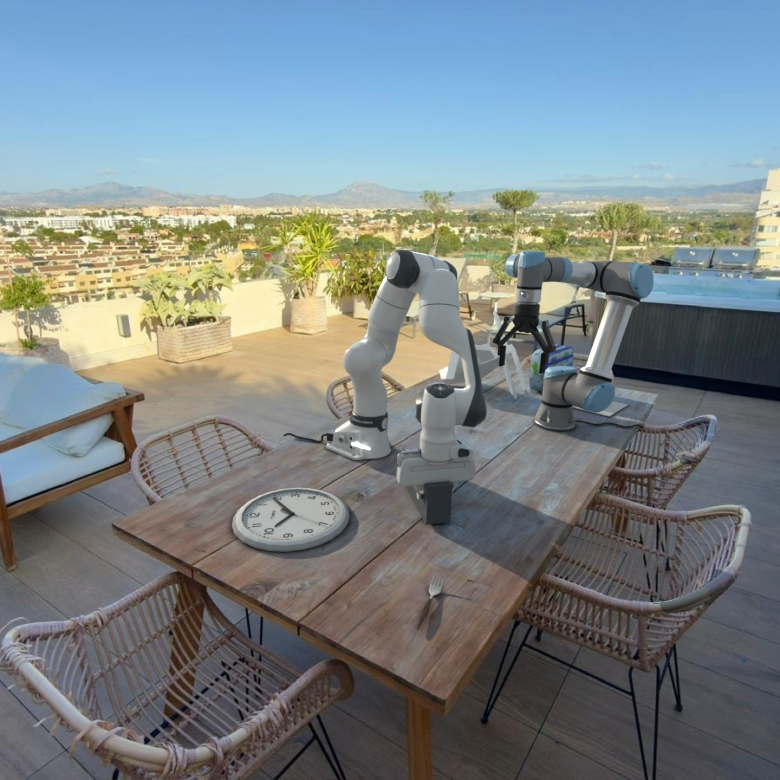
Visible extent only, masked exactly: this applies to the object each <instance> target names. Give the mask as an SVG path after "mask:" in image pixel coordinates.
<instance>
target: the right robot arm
mask: <svg viewBox="0 0 780 780" xmlns="http://www.w3.org/2000/svg"><path fill="white" fill-rule="evenodd" d="M505 273H506V274H507V276H509V277H511V278H515V279H517V280H516V289H515V299H514V300H515V301H516V302H515V303H514V311H513V316H511V315H506V316H504V317H503V322H502V323H501V324H502V326H501V327H500V329H499V331H498V330H497V333H496V334H495V336H494V338H493V340H492V343H493V344H494V345H497V350H498V353H497V354H498V356H500V359H499V367H502V366H504V365H505V354H506V346H505V345H504V344H505V343H506V342H507V343H508V341H509V340H510V339H511V338H512V337H514V335H515V334H516V333H517V332H518V333H525V334H531V336H532V337H533V338H534V339H535V341H536V343H537V344H538V346H539V347H540V349H542V350H543V353H541V360H540V369H539V374H542V373H544V372H545V375H544V378H543V379H544V380H543V391H542V392H541V402H540V405H539V407H538V410H537V411H536V413H535V417H534V424H535V425H536V426H537V427H539V428H542V429H544V430H549V431H556V432H567V431H572V430H574V429H575V428H576V423H580V424H586V425H590V426H595V427H596V426H597V427H598V426H603V425H611V426H616V427H619V428H622V429H623V428H624V429H631V428H635V427H639V428H641V429H644V426H643V425H641V424H639V423H635V424H632V425H623V424H618V423H614V422H610V421H606V422H599V423H594V422H589V421H584V420H578V419H576V418H575V417H576V416H575V413H574V407H576V406H577V407H579V408H582V409H584V410H587V411H586V412H588V411H592V412H601V411H603V410H604V409H606V408H607V407H608V406H609V405H610V404H611V402H612V401H614V398H615V395H616V387H615V385H614V384H613V383H612V382H613V379H614V378H613V376H612V374H611V371H612V369H613V366H614V363H615V360H616V357H617V354H618V352H619V348H620V345H621V343H622V339H623V337H624V334H625V331H626V328H627V326H628V323H629V320H630V317H631V314H632V312H633V309H634V308H635V307H637V306H639V305H640V303H641V300H642V299H643V300H644V299H645V298H648V297H649V295H650V294H651V293H652V291H653V287H654V281H655V278H654V274H653V271H652V268H651V267H650V266H649V265H648V264H646V263H642V262H637V261H618V260H617V261H616V260H594V261H593V260H592V261H590V260H582V261H580V262H577V261H572V260H571V259H570V258H567V257H566V256H565V257H564V256H546V253H545V251H543V250H522V251H521V252H520V253H518V254H512V255H510V256H509V257H508V258H507V260H506V261H505ZM543 283H562V284H572V285H575V286H576V287H579V288H580V289H581V288H582V289H588V290H592V291H594V292H599V293H603V294H605V295H604V297H605V300H606V301H607V302H606V306H605V308H604V311H603V315H602V317H601V320H600V324H599V325H598V329H597V333H596V334H595V337H594V340H593V343H592V347H591V349H590V353H589V355H588V358H587V361H586V364H585V366H583V367H581V368H580V369H579V371H578V369H577V367H574V366H572V367H570V366H555V367H549V368H547V369H546V370H545V364H546V363H548V362H549V354H550V352H554V351H556V346H555V345H556V343H555V341H554V338H553V335H552V332H551V329H550V320H549V319H545V320H540V311H541V310H540V309H541V304H540V303H541V302H542V301H541V300H542V290H543V289H542V288H543ZM511 323H512V324H513V325H514V326H513V327H512V328H511V329H510V330H509V331H508V332H507V333H506V334H505V332H506V331H507V329H508V327H509V326H510V324H511ZM538 326H540V328H541V330H542V333H543V336H544V338H543V336H542V334H541V332H540V330H539V328H538ZM503 334H505V337H504V338H503V339H502V340H501V337H502V336H503ZM503 345H504V346H503ZM573 406H574V407H573ZM584 410H583V411H584ZM592 412H591V413H592Z"/></svg>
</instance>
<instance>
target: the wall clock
mask: <svg viewBox="0 0 780 780" xmlns="http://www.w3.org/2000/svg"><path fill="white" fill-rule="evenodd" d="M350 514H351V513H350V510H349V507H348V505H346V503H345V502H344V501H343V500H342V499H340V498H339V497H337V496H335V494H332V493H329V492H327V491H324V490H322V489H321V490H320V489H316V488H310V487H290V488H289V487H288V488H282V489H281V488H280V489H277V490H276V489H275V490H271V491H268V492H265V493H262V494H260V495H257V496H256V497H254V498H252V499H250V500H248V501H247V502H246V503H244V504H243V505H242V506H241V507H240V508H239V509H237V511H236V513H234V516H233V518H232V524H231V528H232V530H233V533H234V535H235V536H236V538H238V540H240V541H241V542H242V543H243V544H245V545H248V546H250V547H252V548H254V549H259V550H263V551H267V552H281V553H282V552H285V553H286V552H287V553H288V552H295V551H303V550H307V549H311V548H315V547H318V546H322V545H323V544H325V543H328V542H329V541H330V542H331V541H332V540H334V539H335V538H336V537H338V536H339V535H340V534H341V533H343V531H344V530H345V528H346V527H347V526H348V525H349V521H350Z"/></svg>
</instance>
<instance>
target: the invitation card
mask: <svg viewBox="0 0 780 780" xmlns="http://www.w3.org/2000/svg"><path fill="white" fill-rule="evenodd" d="M628 406H629V404H627V403H623V402H618V401H614V400H613V401H612V402H611V404H610V405H609V406H608V407H607V408H606V409H604V410H603V411H601V412H592V411H587V410H584V409H582V408H579V407H577V406H574V407H573V409H575V410H581V411H584V412H587V413H593V414H596V415H600V416H604V417H608V418H609V417H611V416H613V415H614V414H616V413H617V412H619V411H621V410H623V409H624V408H626V407H628Z"/></svg>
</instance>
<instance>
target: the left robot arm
mask: <svg viewBox="0 0 780 780" xmlns="http://www.w3.org/2000/svg"><path fill="white" fill-rule="evenodd" d="M384 275H385V276H384V277H383V279H382V282H381V283H380V285H379V287H378V289H377V292H376V294H375V297H374V299H373V302H372V304H371V306H370V309H369V312H368V314H367V328H366V332H365V335H364V337H363V338H361V339H360V340H358V341H357V342H354V343H353V344H351V345H350V346H349V347H348V348H347V350H346V351H345V352H344V354H343V356H342V366H343V368H344V370H345V372H346V373H347V374H348V375H349V378H350V381H351V382H350V383H351V386H352V394H353V395H352V396H353V397H352V398H353V399H352V400H353V409H351V410H350V411H348V412H347V413H346V417H349V418H348V420H346V421H345V422H343V423H342V424H341V425H339V426H338V427H336V428H331V429H330V430H329V431H327V432H326V433H323V434H321V436H320V440H317V439H313V438H309V437H304V436H299V435H296V434H294V433H291V432H286V433H284V434H283V435H282V437H287V436H291V437H293V438H296V439H299V440H303V441H310V442H313V443H318V444H319V443H322V442H324V437H326V441H327V443H326V446H325V449H327V450H328V451H331V452H333V453H335V454H338V455H341V456H343V457H345V458H348V459H350V460H353V461H362V460H376V459H381V458H384V457H386V456H388V455H390V454H391V452H392V448H391V445H390V440H389V433H388V425H389V411H388V389H387V387H386V386H385V384H384V381H383V376H382V370H383V368H384V367H385V366H387V365H389V364H390V363H391V362H392V360H393V358H394V357H395V355H396V351H397V345H398V340H399V336H400V332H401V330H402V329H401V328H402V327H403V325H404V322H405V320H406V318H407V315H408V313H409V310H410V308H411V306H412V304H413V300H414V298H415V296H416V295H417V294H418V295H419V296H418V297H419V299H418V325H419V330H420V331H421V333H422V334H423V336H424V337H426V339H428V340H429V341H431V342H432V343H435V344H436V345H438V346H441V347H444V348H446V349H448V350H451V352H452V351H454V352H455V353H457V354H458V355H459V357H460V358H461V361H462V365H463V371H464V377H465V383H464V385H465V387H464V388H454V387H453V386H452V384H450V385H449V384H446V383H444V382H433V383H429V384H427V385H426V386H425V388H423V389H421V391H419V393H418V394H417V395H416V396H415V414H414V418H415V420H417V422H419V424H420V425H421V431H420V433H419V446H420V449H415V450H404V451H403V450H402V451H401V452H399V453H398V454H397V455H396V465H397V469H396V477H395V478H396V481H397V483H398V484H399V485H400V487H406V486H414V488H415V490H416V491H417V499H418V500H421V499H424V493H423V491H422V490H421V491H419V489H418V488H420V485H425V483H434V482H445V481H450V482H451V484H452V497H453V496H454V491H455V489H456V488H457V487H458V485H459V484H458V483H459V482H469V481H472V480H473V479H475V478H476V462H475V458H474V457H473V455H474V449H473V447H472V446H471V445H470V444H469V443H468V442H467V441H466V440H464V439H461V438H457V437H456V433H455V429H456V428H455V427H456V426H461V427H467V428H476V427H477V426H479V425H480V424H482V423H483V422H484V421H485V420H486V418H487V415H488V403H487V400H486V396H485V393H484V387H483V383H482V381H481V377H480V371H479V365H478V359H477V353H476V348H475V346H476V344H475V340H474V335H473V332H472V331H471V329H469V328H467V327H466V326H465V325H464V323H463V321H462V317H461V309H460V307H461V303H460V291H459V290H460V289H459V285H458V270H457V268H456V267H455V266H454V265H453V264H452V263H450V262H449V261H447V260H444V259H440V258H439V257H437V256H433V255H432V254H431V255H430V254H427V253H426V254H425V253H421V252H416V251H411V250H410V249H404V248H403V249H402V248H401V249H395V250H394V251H392V252H391V253H390V255H389V256H388V257H387V259H386V261H385V265H384Z"/></svg>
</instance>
